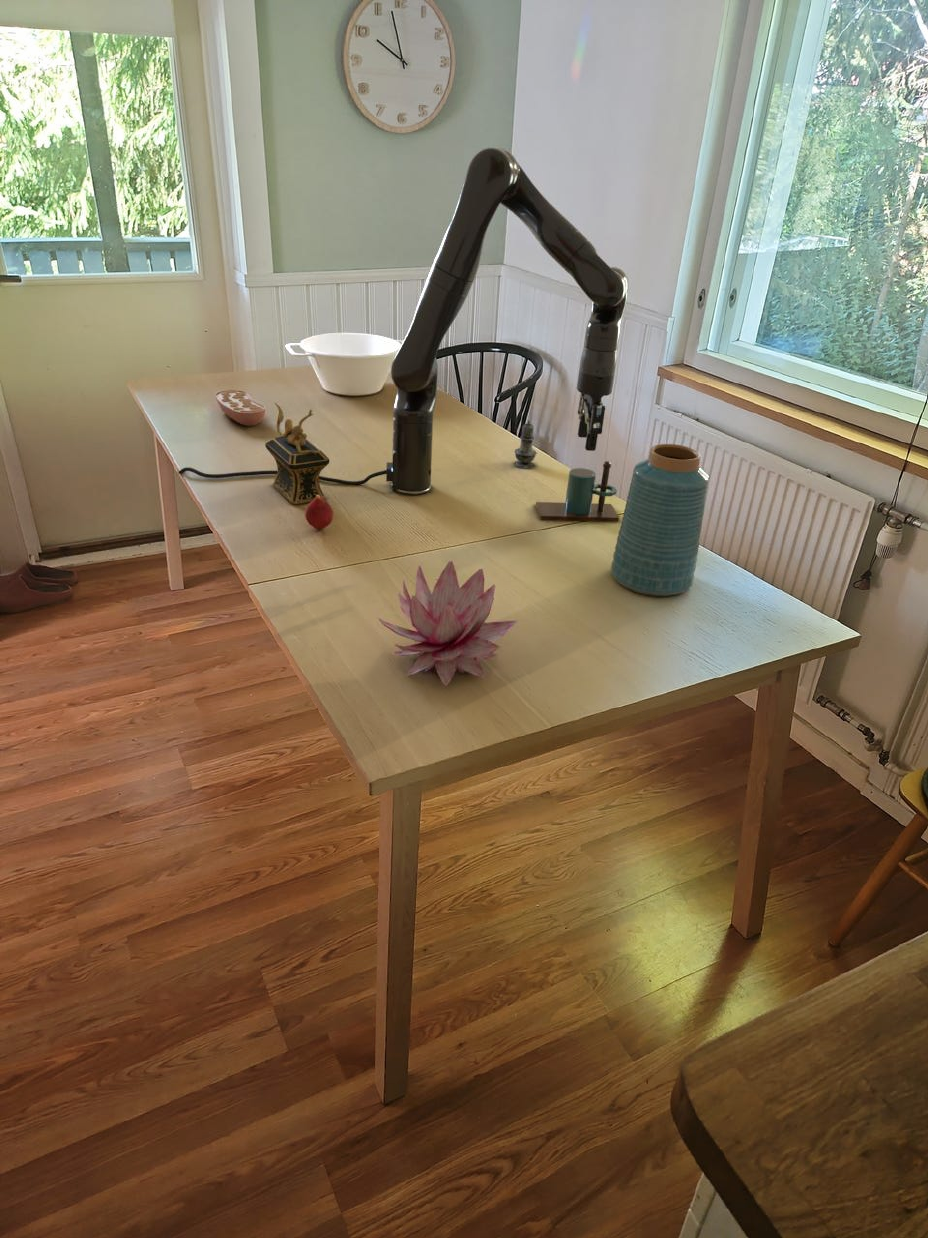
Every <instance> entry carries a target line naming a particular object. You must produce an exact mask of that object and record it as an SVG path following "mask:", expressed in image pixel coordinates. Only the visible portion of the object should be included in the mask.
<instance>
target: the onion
mask: <svg viewBox="0 0 928 1238" xmlns="http://www.w3.org/2000/svg"><path fill="white" fill-rule="evenodd" d="M304 512H305V513H304V517H305V520H306V521H307V523H308V524H309V525H310V526H311V527H312V528H314V529H315V530H317V531H322V530H324V529H325V528H327V527H328V526H329V525H330V524H331V523H332V522H333V518H334V510H333V508H332V507H331V505H330V504H329V502H328V501H327V500H325V498H324V499H322V498H321V497H320V496H319V495H316V498H315V499H314V500H313V501H311V502H308V504H307V506H306V509H305V511H304Z"/></svg>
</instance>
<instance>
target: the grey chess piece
mask: <svg viewBox="0 0 928 1238" xmlns="http://www.w3.org/2000/svg"><path fill="white" fill-rule="evenodd" d="M534 428H535V427H534V425H533V424H532V423H530V420H529V419H528V420H527V421H526V423H524V424H523V425H522V427H521V435H520V436H519V439H520V445H519V447H518V448H515V449H514V455H515V459H516V460H517V461H515V462H514V463H513V464H514V466H515V467H516V468H519V469H525V470H526V469H533V468H534V467H535V464H534V463H533V461H534V460H535V458H536V455H537V454H538V452H537V451H536V450H535V449H533V441H534V439H535V437H534Z"/></svg>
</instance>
